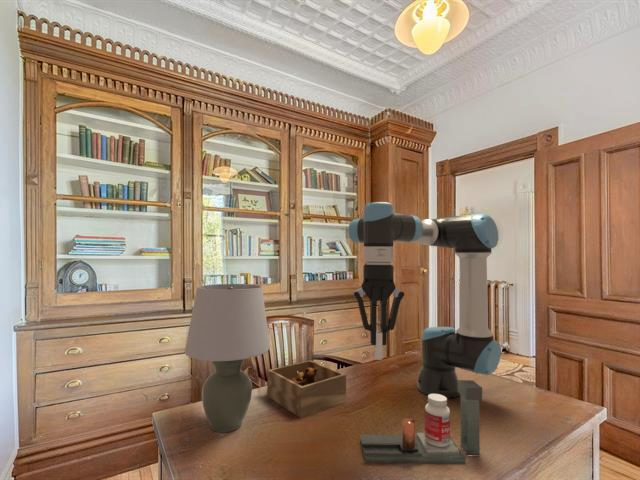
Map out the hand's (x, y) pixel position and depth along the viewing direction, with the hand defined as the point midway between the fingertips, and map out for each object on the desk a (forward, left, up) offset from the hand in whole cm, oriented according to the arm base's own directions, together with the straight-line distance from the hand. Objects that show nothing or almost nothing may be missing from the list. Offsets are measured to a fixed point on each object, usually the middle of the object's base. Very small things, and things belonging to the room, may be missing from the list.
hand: (378, 357), depth 84 cm
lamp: (-37, -23, -24) cm, 50 cm away
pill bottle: (+8, +14, -22) cm, 27 cm away
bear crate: (-37, +6, -24) cm, 45 cm away
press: (+5, +10, -24) cm, 27 cm away
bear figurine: (-38, +5, -25) cm, 46 cm away
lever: (+5, +6, -22) cm, 24 cm away
